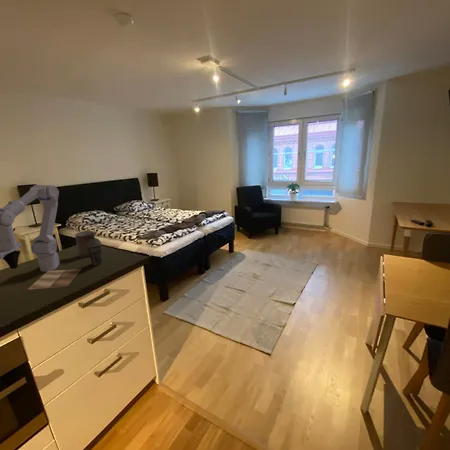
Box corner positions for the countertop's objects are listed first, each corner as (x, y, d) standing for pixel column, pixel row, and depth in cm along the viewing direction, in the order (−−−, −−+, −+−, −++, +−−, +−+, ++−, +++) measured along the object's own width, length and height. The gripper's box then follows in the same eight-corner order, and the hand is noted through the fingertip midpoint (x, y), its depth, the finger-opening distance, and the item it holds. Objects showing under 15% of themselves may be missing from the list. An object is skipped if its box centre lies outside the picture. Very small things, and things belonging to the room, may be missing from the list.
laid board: (67, 272, 127) (66, 269, 126) (82, 270, 128) (81, 268, 127) (50, 290, 110) (49, 287, 109) (67, 288, 111) (67, 286, 110)
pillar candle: (100, 254, 149) (96, 230, 145) (84, 259, 141) (80, 234, 137) (91, 251, 154) (87, 227, 150) (75, 256, 146) (70, 232, 142)
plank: (48, 273, 125) (47, 270, 125) (66, 272, 126) (66, 270, 126) (27, 291, 108) (27, 289, 108) (49, 290, 109) (48, 288, 109)
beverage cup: (87, 265, 133) (81, 230, 128) (101, 261, 138) (96, 227, 133) (93, 270, 129) (86, 233, 123) (107, 265, 134) (101, 230, 128)
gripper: (6, 234, 112) (13, 262, 116) (-17, 245, 99) (-8, 276, 102) (24, 233, 114) (30, 260, 118) (4, 244, 100) (12, 274, 104)
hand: (14, 267), depth 110 cm, fingers closed
